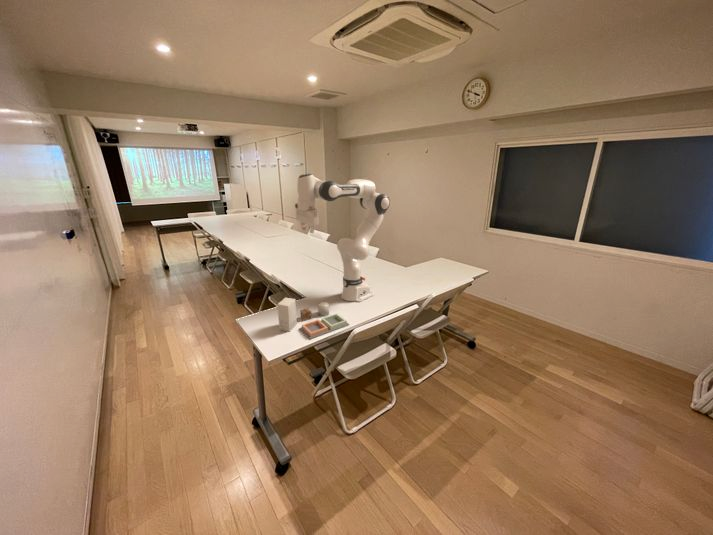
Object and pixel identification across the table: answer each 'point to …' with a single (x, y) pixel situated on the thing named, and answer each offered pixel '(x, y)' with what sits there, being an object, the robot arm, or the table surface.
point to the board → (323, 326)
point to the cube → (305, 314)
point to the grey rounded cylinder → (323, 309)
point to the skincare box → (287, 314)
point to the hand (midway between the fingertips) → (307, 231)
